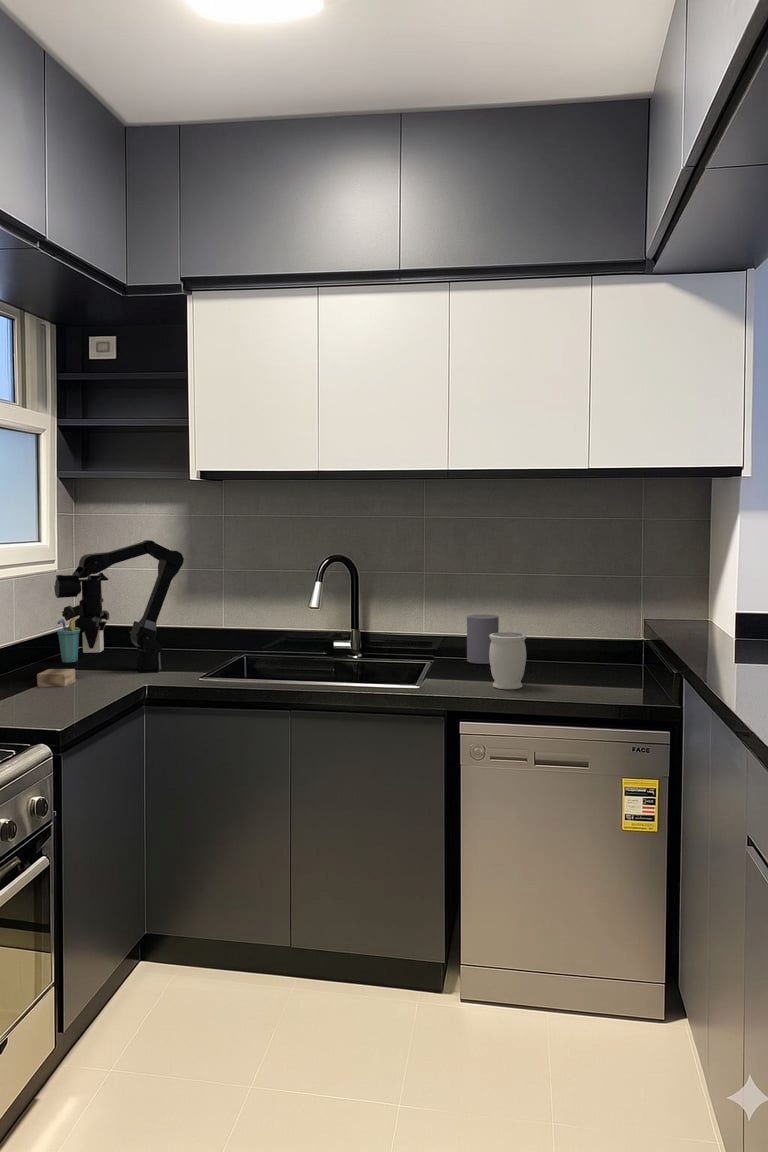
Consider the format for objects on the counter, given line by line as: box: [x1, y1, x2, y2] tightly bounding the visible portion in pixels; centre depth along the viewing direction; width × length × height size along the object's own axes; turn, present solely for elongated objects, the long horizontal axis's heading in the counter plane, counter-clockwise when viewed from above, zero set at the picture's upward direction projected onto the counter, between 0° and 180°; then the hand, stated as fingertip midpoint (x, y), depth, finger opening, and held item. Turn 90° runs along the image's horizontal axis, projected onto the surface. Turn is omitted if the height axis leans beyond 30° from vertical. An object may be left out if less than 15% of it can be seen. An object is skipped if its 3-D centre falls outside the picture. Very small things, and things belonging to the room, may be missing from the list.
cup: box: [56, 617, 81, 664], centre depth 293 cm, size 14×8×15 cm, turn 177°
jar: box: [489, 631, 527, 690], centre depth 249 cm, size 11×10×15 cm
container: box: [466, 613, 500, 666], centre depth 288 cm, size 10×10×15 cm
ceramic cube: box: [82, 630, 105, 654], centre depth 267 cm, size 5×5×6 cm
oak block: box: [36, 668, 76, 688], centre depth 258 cm, size 8×8×4 cm
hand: (93, 646), depth 267 cm, fingers closed on ceramic cube, 5 cm apart
